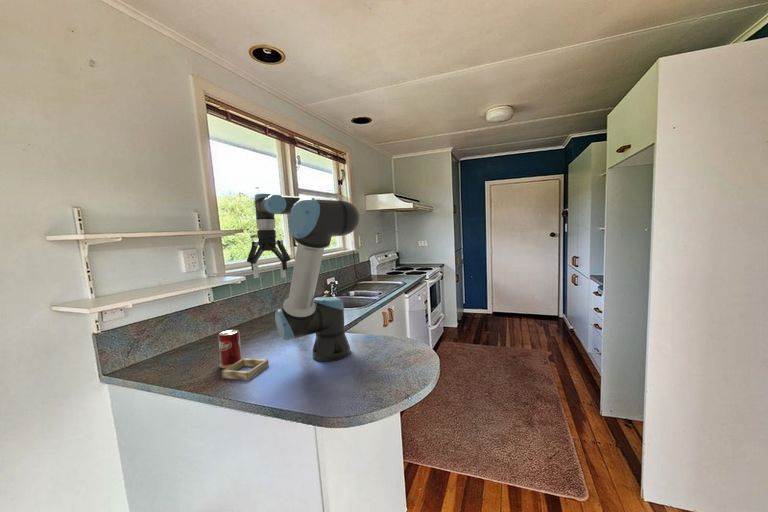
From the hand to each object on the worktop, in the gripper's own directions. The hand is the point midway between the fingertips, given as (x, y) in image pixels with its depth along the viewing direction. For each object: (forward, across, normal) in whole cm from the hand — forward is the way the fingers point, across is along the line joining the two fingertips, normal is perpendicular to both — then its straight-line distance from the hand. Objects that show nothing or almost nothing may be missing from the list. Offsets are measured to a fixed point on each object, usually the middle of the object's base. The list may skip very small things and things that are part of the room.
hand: (269, 277), depth 134 cm
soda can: (+30, +6, +20) cm, 37 cm away
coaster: (+31, +6, +20) cm, 37 cm away
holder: (+31, -5, +26) cm, 40 cm away
